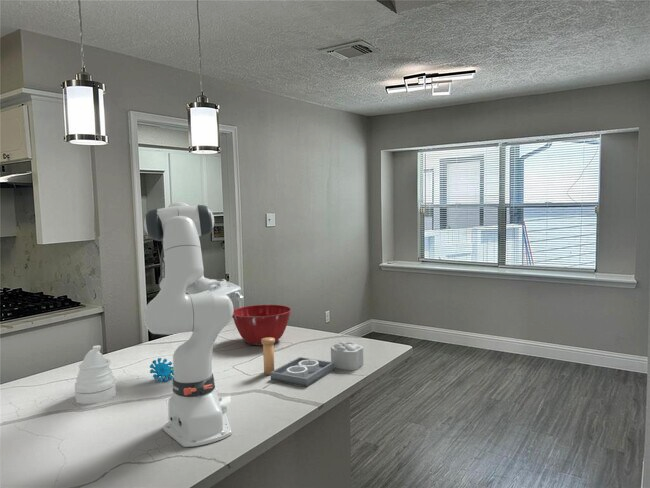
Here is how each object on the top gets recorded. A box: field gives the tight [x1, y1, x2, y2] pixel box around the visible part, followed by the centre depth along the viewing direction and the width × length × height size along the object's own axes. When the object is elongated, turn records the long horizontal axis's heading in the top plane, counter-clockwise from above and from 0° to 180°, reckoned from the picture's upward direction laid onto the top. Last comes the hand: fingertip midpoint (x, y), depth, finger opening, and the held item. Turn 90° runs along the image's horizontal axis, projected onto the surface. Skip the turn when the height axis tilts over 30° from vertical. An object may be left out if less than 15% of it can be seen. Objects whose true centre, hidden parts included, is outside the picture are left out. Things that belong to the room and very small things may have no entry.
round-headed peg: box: [261, 337, 276, 376], centre depth 186 cm, size 5×5×13 cm
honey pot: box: [74, 344, 117, 405], centre depth 167 cm, size 13×13×18 cm
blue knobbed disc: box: [149, 357, 174, 383], centre depth 184 cm, size 11×6×10 cm
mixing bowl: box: [232, 304, 292, 346], centre depth 230 cm, size 28×28×16 cm
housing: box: [269, 356, 335, 388], centre depth 183 cm, size 16×20×4 cm
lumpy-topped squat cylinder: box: [330, 341, 365, 371], centre depth 194 cm, size 10×13×9 cm
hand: (234, 301), depth 188 cm, fingers open, 8 cm apart
